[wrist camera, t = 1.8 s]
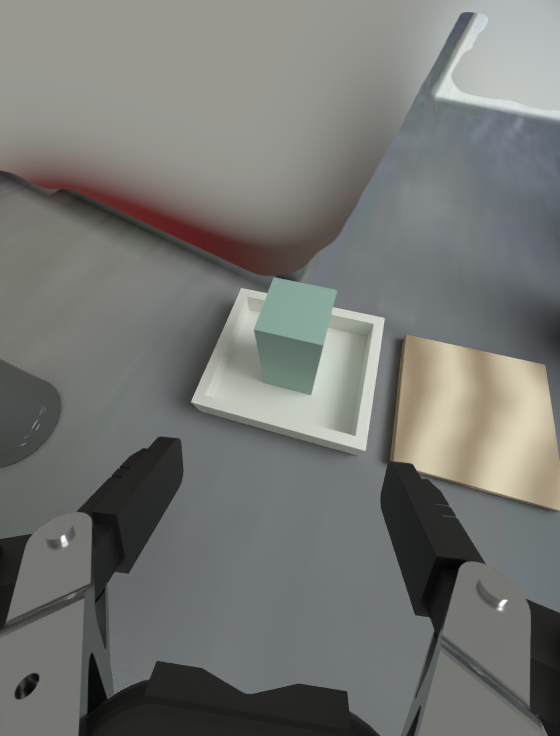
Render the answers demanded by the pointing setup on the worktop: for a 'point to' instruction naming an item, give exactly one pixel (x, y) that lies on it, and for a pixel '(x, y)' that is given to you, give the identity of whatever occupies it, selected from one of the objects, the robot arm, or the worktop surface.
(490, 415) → the board
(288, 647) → the worktop surface
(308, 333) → the carton
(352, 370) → the tray
